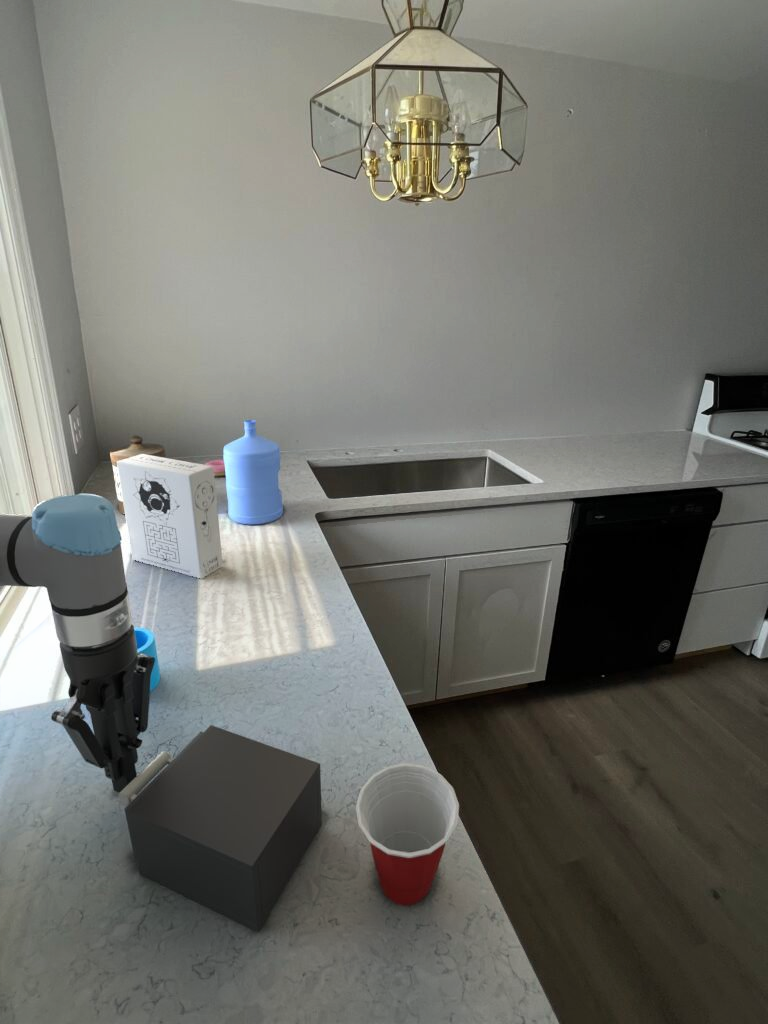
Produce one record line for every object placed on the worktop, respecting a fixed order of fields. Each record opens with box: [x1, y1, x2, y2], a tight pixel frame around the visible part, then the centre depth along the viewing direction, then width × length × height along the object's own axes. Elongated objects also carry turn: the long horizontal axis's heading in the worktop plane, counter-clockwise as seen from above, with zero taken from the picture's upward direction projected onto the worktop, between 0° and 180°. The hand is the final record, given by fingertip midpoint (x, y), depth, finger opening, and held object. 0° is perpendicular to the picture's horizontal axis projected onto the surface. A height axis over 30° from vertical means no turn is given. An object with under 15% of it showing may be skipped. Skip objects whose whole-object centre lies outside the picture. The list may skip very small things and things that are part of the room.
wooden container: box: [109, 435, 167, 515], centre depth 163 cm, size 15×15×22 cm
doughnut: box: [204, 459, 226, 478], centre depth 199 cm, size 11×11×4 cm
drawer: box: [118, 731, 205, 861], centre depth 65 cm, size 19×13×8 cm, turn 68°
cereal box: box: [117, 454, 224, 580], centre depth 129 cm, size 22×8×25 cm, turn 65°
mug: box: [134, 626, 161, 694], centre depth 90 cm, size 12×8×8 cm
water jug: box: [222, 419, 284, 526], centre depth 158 cm, size 16×16×28 cm
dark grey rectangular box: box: [127, 724, 323, 933], centre depth 64 cm, size 16×14×10 cm
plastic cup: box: [355, 762, 460, 906], centre depth 60 cm, size 11×11×12 cm
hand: (126, 789), depth 71 cm, fingers closed
